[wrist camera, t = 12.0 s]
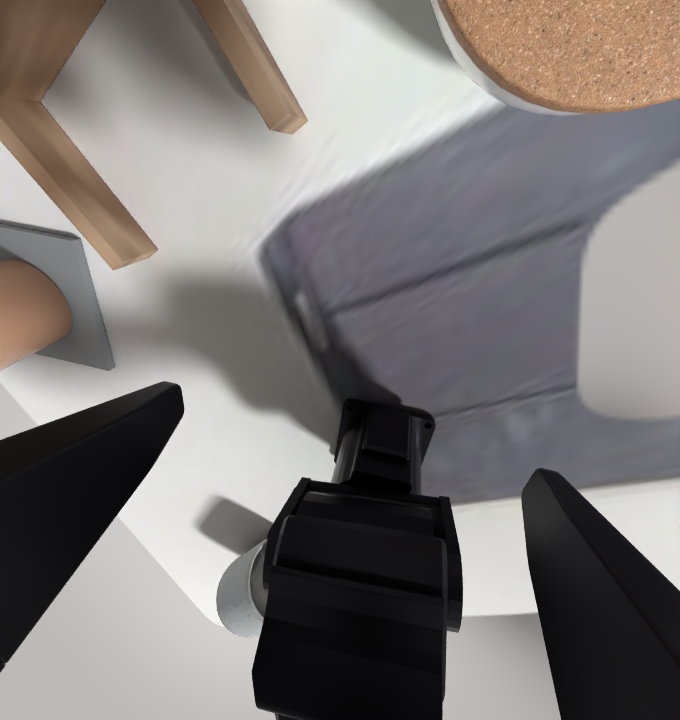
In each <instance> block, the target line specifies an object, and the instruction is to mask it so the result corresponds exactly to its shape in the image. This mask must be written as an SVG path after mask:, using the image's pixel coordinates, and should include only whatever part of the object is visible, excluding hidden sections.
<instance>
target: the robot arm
mask: <svg viewBox="0 0 680 720" xmlns="http://www.w3.org/2000/svg"><path fill="white" fill-rule="evenodd" d="M348 405H351V406H353V407H349V406H348ZM183 414H184V403H183V396H182V390H181V387H180V386H179V385H178V384H175V383H171V382H166V381H163V382H160V383H157V384H154V385H151V386H149V387H146V388H143V389H140V390H138V391H135V392H132V393H129V394H126V395H124V396H121V397H118V398H115V399H113V400H110V401H107V402H104V403H102V404H99V405H96V406H93V407H90V408H88V409H85V410H82V411H79V412H77V413H74V414H71V415H68V416H66V417H63V418H60V419H57V420H54V421H52V422H49V423H46V424H43V425H41V426H38V427H35V428H33V429H30V430H27V431H24V432H21V433H19V434H16V435H13V436H10V437H7V438H5V439H2V440H0V672H1V671H2V670H3V668H4V667H5V663H7V662H8V661H9V660H10V658H11V657H12V655H13V654H14V653H15V652H16V650H17V649H18V647H19V646H20V645H21V644H22V642H23V641H24V640H25V638H26V637H27V635H28V634H29V633H30V631H31V630H32V629H33V627H34V626H35V624H36V623H37V622H38V621H39V619H40V618H41V616H42V615H43V614H44V613H45V611H46V610H47V609H48V607H49V606H50V604H51V603H52V602H53V600H54V599H55V598H56V596H57V595H58V594H59V592H60V591H61V590H62V588H63V587H64V585H65V584H66V583H67V581H68V580H69V579H70V577H71V576H72V575H73V574H74V572H75V571H76V569H77V568H78V567H79V565H80V564H81V563H82V561H83V560H84V559H85V557H86V556H87V555H88V553H89V552H90V551H91V549H92V548H93V547H94V545H95V544H96V543H97V541H98V540H99V538H100V537H101V536H102V534H103V533H104V532H105V530H106V529H107V528H108V526H109V525H110V524H111V522H112V521H113V519H114V518H115V517H116V516H117V514H118V513H119V512H120V510H121V509H122V508H123V506H124V505H125V504H126V502H127V501H128V499H129V498H130V497H131V495H132V494H133V493H134V491H135V490H136V489H137V487H138V486H139V485H140V483H141V482H142V481H143V479H144V478H145V477H146V475H147V474H148V472H149V471H150V470H151V468H152V467H153V465H154V464H155V462H156V461H157V459H158V457H159V456H160V454H161V452H162V451H163V449H164V447H165V446H166V444H167V442H168V441H169V439H170V437H171V436H172V434H173V432H174V430H175V429H176V427H177V425H178V424H179V422H180V420H181V419H182V417H183ZM425 423H430V424H429V425H426V424H425ZM434 430H435V420H434V419H433V418H432V417H430V416H425V415H421V414H416V413H412V412H408V411H403V410H399V409H394V408H390V407H385V406H381V405H377V404H372V403H367V402H363V401H359V400H354V399H347V400H346V401H345V402H344V405H343V410H342V416H341V422H340V428H339V434H338V440H337V446H336V452H335V458H334V462H335V463H336V466H335V469H334V473H333V477H332V481H331V483H329V482H321V481H314V480H311V478H304V477H302V478H301V480H300V482H299V483H298V485H297V486H296V487H295V488H294V490H293V492H292V493H291V495H290V497H289V498H288V500H287V502H286V503H285V505H284V507H283V508H282V510H281V512H280V513H279V515H278V517H277V518H276V520H275V522H274V523H273V525H272V527H271V528H270V530H269V533H268V538H267V540H266V541H265V542H264V543H263V546H262V551H261V553H262V556H263V558H264V564H263V588H264V591H265V593H268V597H267V603H266V609H265V615H264V620H263V625H262V629H261V634H260V638H259V642H258V647H257V651H256V655H255V660H254V663H253V668H252V680H253V688H254V696H255V703H256V706H257V708H258V709H262V710H265V711H269V712H273V713H275V716H276V720H442V702H443V700H444V696H445V673H446V635H447V634H446V633H447V631H452V632H459V629H460V625H461V619H462V606H463V577H462V563H461V554H460V548H459V543H458V538H457V533H456V528H455V523H454V519H453V514H452V509H451V504H450V499H449V497H444V496H439V497H431V496H424V495H421V465H422V462H423V459H424V457H425V454H426V451H427V448H428V446H429V443H430V440H431V438H432V435H433V432H434ZM521 499H522V510H523V519H524V529H525V539H526V549H527V557H528V565H529V570H530V575H531V580H532V585H533V590H534V594H535V599H536V604H537V608H538V613H539V618H540V622H541V627H542V631H543V636H544V641H545V646H546V650H547V655H548V659H549V664H550V669H551V674H552V679H553V683H554V688H555V693H556V697H557V702H558V706H559V711H560V716H561V720H680V591H679V590H678V589H677V588H676V587H675V586H674V585H673V584H672V583H671V582H670V581H669V580H668V579H667V578H666V577H665V576H664V575H663V574H662V573H661V572H660V571H659V570H658V569H657V568H656V567H655V566H654V565H653V564H652V563H651V562H650V561H649V560H648V559H647V558H646V557H644V556H643V555H642V554H641V553H640V552H639V551H638V550H637V549H636V548H635V547H634V546H633V545H632V544H631V543H630V542H629V541H628V540H627V539H626V538H625V537H624V536H623V535H622V534H621V533H620V532H619V531H618V530H617V529H616V528H615V527H614V526H613V525H612V524H611V523H610V522H609V521H608V520H607V519H606V518H605V517H604V516H603V515H602V514H601V513H600V512H599V511H597V510H596V509H595V508H594V507H593V506H592V505H591V504H590V503H589V502H588V501H587V500H586V499H585V498H584V497H583V496H582V495H581V494H580V493H579V492H578V491H577V490H576V489H575V488H574V487H573V486H572V485H571V484H570V483H569V482H568V481H567V480H566V479H565V478H564V477H563V476H562V475H561V474H559V473H558V472H556V471H552V470H548V469H544V468H538V469H537V470H535V472H534V473H533V475H532V476H531V478H530V480H529V481H528V483H527V484H526V486H525V487H524V489H523V492H522V498H521Z"/></svg>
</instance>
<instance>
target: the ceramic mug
mask: <svg viewBox="0 0 680 720" xmlns="http://www.w3.org/2000/svg"><path fill="white" fill-rule="evenodd" d="M266 540H267V539H265V540H263V541H262V542H261V543H259V544H258V545H256V546H255V547H253V548H252V549H250V550H249V551H248V552H246V553H245V554H243V555H241V556H240V557H238V558H237V559H236V560H235V561H234V562H233V563H232V564H231V565H230V566H229V567H228V568H227V570H226V571H225V572H224V574H223V576H222V578H221V580H220V582H219V586H218V589H217V597H216V602H217V611H218V615H219V617H220V620H221V621H222V623H223V625H224V626H225V627H226V628H227V629H228V630H229V631H230V632H232V633H234V634H236V635H239V636H242V637H257V636H260V634H261V629H262V625H263V620H264V615H265V609H266V603H267V597H268V593H265V591H264V588H263V564H264V558H263V556H262V553H261V551H262V546H263V543H264V542H265V541H266Z"/></svg>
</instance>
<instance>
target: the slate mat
mask: <svg viewBox="0 0 680 720" xmlns="http://www.w3.org/2000/svg"><path fill="white" fill-rule="evenodd" d="M4 259H16V260H20V261H23V262H25V263H27V264H29V265H31V266H33V267H35V268H36V269H38V270H39V271H40V272H42V273H43V274H44V275H45V276H47V277H48V278H49V279H50V280H51V281H52V282H53V283H54V284H55V286H56V287H57V288H58V289H59V291H60V292H61V293H62V295H63V296H64V298H65V300H66V302H67V303H68V306H69V308H70V311H71V314H72V321H73V324H72V329H71V332H70V333H69V335H67V336H66V337H65V338H63V339H61V340H59V341H57V342H55V343H53V344H51V345H49V346H47V347H45V348H43V349H41V350H40V351H38V352H36V353H35V354H40V355H44V356H48V357H52V358H57V359H61V360H65V361H70V362H74V363H78V364H82V365H87V366H91V367H95V368H99V369H104V370H108V371H110V370H111V369H113V368H114V367H115V365H114V361H113V357H112V354H111V350H110V346H109V342H108V339H107V335H106V331H105V328H104V324H103V320H102V316H101V313H100V309H99V305H98V302H97V298H96V294H95V290H94V287H93V283H92V279H91V275H90V272H89V268H88V264H87V261H86V257H85V253H84V249H83V246H82V242H81V239H78V238H72V237H67V236H62V235H57V234H51V233H46V232H41V231H36V230H31V229H25V228H20V227H15V226H10V225H4V224H0V260H4Z"/></svg>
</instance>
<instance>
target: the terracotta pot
mask: <svg viewBox="0 0 680 720" xmlns="http://www.w3.org/2000/svg"><path fill="white" fill-rule="evenodd" d="M72 324H73V321H72V314H71V311H70V308H69V306H68V303H67V302H66V300H65V298H64V296H63V295H62V293H61V292H60V291H59V289H58V288H57V287H56V286H55V284H54V283H53V282H52V281H51V280H50V279H49V278H48V277H47V276H45V275H44V274H43V273H42V272H40V271H39V270H38V269H36V268H35V267H33V266H31V265H29V264H27V263H25V262H23V261H20V260H16V259H4V260H0V371H1V370H3V369H5V368H6V367H8V366H10V365H12V364H14V363H16V362H18V361H20V360H22V359H24V358H26V357H28V356H30V355H32V354H34V353H36V352H38V351H40V350H41V349H43V348H45V347H47V346H49V345H51V344H53V343H55V342H57V341H59V340H61V339H63V338H65V337H66V336H67V335H69V333H70V332H71V329H72Z"/></svg>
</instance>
